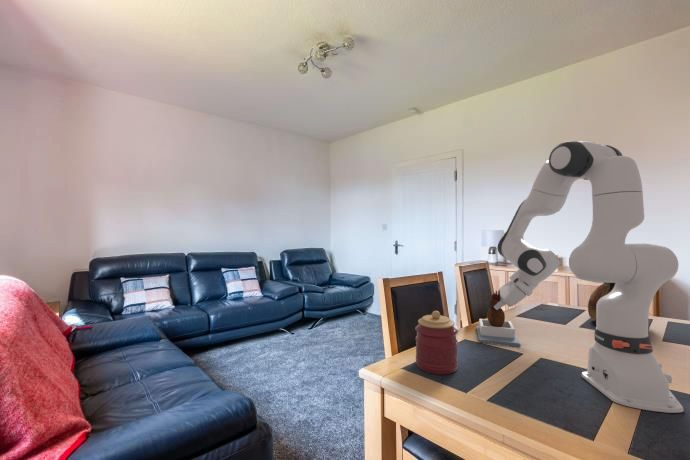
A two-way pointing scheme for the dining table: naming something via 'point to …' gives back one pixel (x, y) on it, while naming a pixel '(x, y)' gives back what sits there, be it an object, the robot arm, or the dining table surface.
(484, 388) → the dining table surface
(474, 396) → the dining table surface
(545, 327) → the dining table surface
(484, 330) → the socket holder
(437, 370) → the canister
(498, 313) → the wooden figurine
